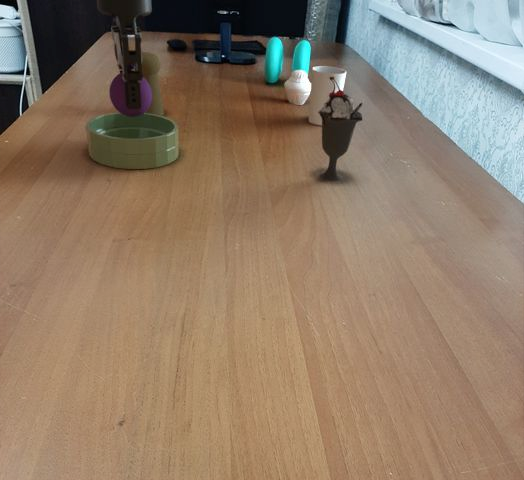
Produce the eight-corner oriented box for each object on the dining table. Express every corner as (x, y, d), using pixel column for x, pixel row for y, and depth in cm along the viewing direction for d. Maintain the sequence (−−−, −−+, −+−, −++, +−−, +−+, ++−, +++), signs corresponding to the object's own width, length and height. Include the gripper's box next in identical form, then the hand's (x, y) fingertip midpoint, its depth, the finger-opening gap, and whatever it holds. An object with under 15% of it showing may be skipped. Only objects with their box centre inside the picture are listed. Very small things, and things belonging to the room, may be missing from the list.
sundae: (302, 172, 93) (314, 72, 84) (339, 170, 95) (354, 72, 86) (319, 188, 88) (334, 84, 79) (358, 185, 90) (376, 83, 81)
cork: (167, 119, 110) (165, 56, 104) (136, 120, 108) (132, 56, 102) (160, 110, 115) (158, 49, 108) (130, 111, 113) (126, 49, 106)
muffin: (279, 104, 125) (282, 69, 120) (287, 98, 129) (290, 64, 125) (306, 108, 123) (310, 73, 119) (313, 102, 128) (317, 68, 124)
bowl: (124, 179, 85) (121, 145, 82) (72, 152, 93) (68, 120, 90) (196, 160, 94) (196, 129, 91) (143, 136, 101) (141, 107, 98)
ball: (127, 124, 86) (124, 78, 82) (103, 114, 89) (98, 69, 85) (161, 117, 90) (159, 73, 86) (136, 108, 93) (133, 65, 89)
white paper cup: (334, 130, 112) (342, 75, 106) (302, 125, 114) (308, 70, 108) (341, 122, 117) (349, 69, 111) (310, 116, 119) (317, 64, 113)
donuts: (303, 91, 135) (308, 44, 129) (262, 86, 136) (265, 39, 130) (307, 82, 143) (312, 37, 137) (268, 77, 144) (271, 33, 138)
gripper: (91, -34, 82) (102, 90, 92) (97, -22, 72) (110, 116, 82) (143, -31, 84) (149, 90, 94) (157, -19, 74) (162, 115, 84)
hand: (131, 101), depth 88 cm, fingers closed on ball, 6 cm apart
